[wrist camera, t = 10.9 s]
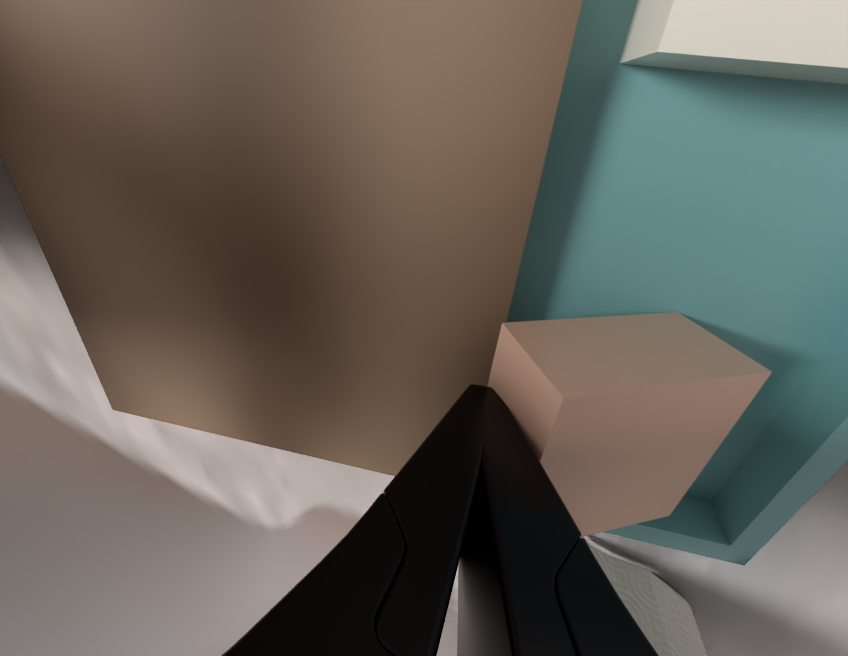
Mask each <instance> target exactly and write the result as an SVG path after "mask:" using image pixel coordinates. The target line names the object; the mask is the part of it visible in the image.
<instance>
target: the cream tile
mask: <svg viewBox="0 0 848 656" xmlns="http://www.w3.org/2000/svg"><path fill="white" fill-rule="evenodd" d="M619 64H629V65H640V66H651V67H662V68H673V69H684V70H695V71H706V72H717V73H729V74H740V75H751V76H762V77H773V78H784V79H795V80H806V81H817V82H828V83H839V84H848V0H637V4H636V7H635V11H634V14H633V17H632V21H631V24H630V28H629V31H628V35H627V38H626V42H625V45H624V48H623V52H622V55H621V59H620V62H619Z"/></svg>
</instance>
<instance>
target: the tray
mask: <svg viewBox="0 0 848 656" xmlns="http://www.w3.org/2000/svg"><path fill="white" fill-rule="evenodd" d="M636 4H637V0H583V1H582V5H581V9H580V13H579V18H578V22H577V26H576V30H575V35H574V39H573V43H572V47H571V51H570V56H569V60H568V64H567V68H566V73H565V77H564V81H563V85H562V89H561V94H560V98H559V102H558V106H557V111H556V115H555V119H554V123H553V127H552V132H551V136H550V140H549V144H548V149H547V153H546V157H545V161H544V165H543V170H542V174H541V178H540V182H539V186H538V191H537V195H536V199H535V203H534V208H533V212H532V216H531V220H530V224H529V229H528V233H527V237H526V241H525V246H524V250H523V254H522V258H521V262H520V267H519V271H518V275H517V279H516V284H515V288H514V292H513V296H512V300H511V305H510V309H509V313H508V317H507V321H506V323H507V322H523V321H539V320H555V319H571V318H587V317H603V316H620V315H636V314H652V313H668V312H678V313H680V314H681V315H683V316H685V317H686V318H688V319H689V320H691V321H693V322H694V323H696V324H697V325H699V326H700V327H702V328H704V329H705V330H707V331H708V332H710V333H711V334H713V335H715V336H716V337H718V338H719V339H721V340H723V341H724V342H726V343H727V344H729V345H730V346H732V347H734V348H735V349H737V350H738V351H740V352H742V353H743V354H745V355H746V356H748V357H749V358H751V359H753V360H754V361H756V362H757V363H759V364H760V365H762V366H764V367H765V368H767V369H768V370H770V371H772V373H771V374H770V376H769V377H768V378H767V380H766V381H765V383H764V384H763V385H762V387H761V388H760V390H759V391H758V392H757V394H756V395H755V397H754V398H753V399H752V401H751V402H750V404H749V405H748V406H747V408H746V409H745V411H744V412H743V413H742V415H741V416H740V418H739V419H738V420H737V422H736V423H735V425H734V426H733V427H732V429H731V430H730V432H729V433H728V434H727V436H726V437H725V439H724V440H723V441H722V443H721V444H720V446H719V447H718V448H717V450H716V451H715V453H714V454H713V455H712V457H711V458H710V460H709V461H708V462H707V464H706V465H705V467H704V468H703V469H702V471H701V472H700V474H699V475H698V476H697V478H696V479H695V481H694V482H693V483H692V485H691V486H690V488H689V489H688V490H687V492H686V493H685V495H684V496H683V497H682V499H681V500H680V502H679V503H678V504H677V506H676V507H675V509H674V510H673V511H672V513H671V514H670V516H666V517H662V518H658V519H654V520H649V521H645V522H641V523H637V524H633V525H629V526H625V527H620V528H616V529H612V530H608V531H604V532H606V533H610V534H614V535H619V536H623V537H627V538H631V539H635V540H640V541H644V542H648V543H652V544H657V545H661V546H665V547H669V548H673V549H678V550H682V551H686V552H690V553H694V554H699V555H703V556H707V557H711V558H716V559H720V560H724V561H728V562H732V563H737V564H741V565H745V564H746V563H747V562H748V561H749V560H750V559H751V558H752V557H753V556H754V555H755V554H756V553H757V552H758V551H759V550H760V549H761V548H762V547H763V546H764V545H765V544H766V543H767V542H768V541H769V540H770V539H771V538H772V537H773V536H774V535H775V534H776V533H777V532H778V531H779V530H780V529H781V528H782V527H783V526H784V525H785V523H786V522H787V521H788V520H789V519H790V518H791V517H792V516H793V515H794V514H795V513H796V512H797V511H798V510H799V509H800V508H801V507H802V506H803V505H804V504H805V503H806V502H807V501H808V500H809V499H810V498H811V497H812V496H813V495H814V494H815V493H816V492H817V491H818V490H819V489H820V488H821V487H822V486H823V485H824V484H825V483H826V482H827V481H828V480H829V479H830V478H831V477H832V476H833V475H834V474H835V473H836V472H837V471H838V470H839V469H840V468H841V467H842V466H843V465H844V464H845V463H846V462H847V461H848V84H839V83H828V82H817V81H806V80H795V79H784V78H773V77H762V76H751V75H740V74H729V73H717V72H706V71H695V70H684V69H673V68H662V67H651V66H640V65H629V64H619V62H620V59H621V55H622V52H623V48H624V45H625V42H626V38H627V35H628V31H629V28H630V24H631V21H632V17H633V14H634V11H635V7H636Z"/></svg>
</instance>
